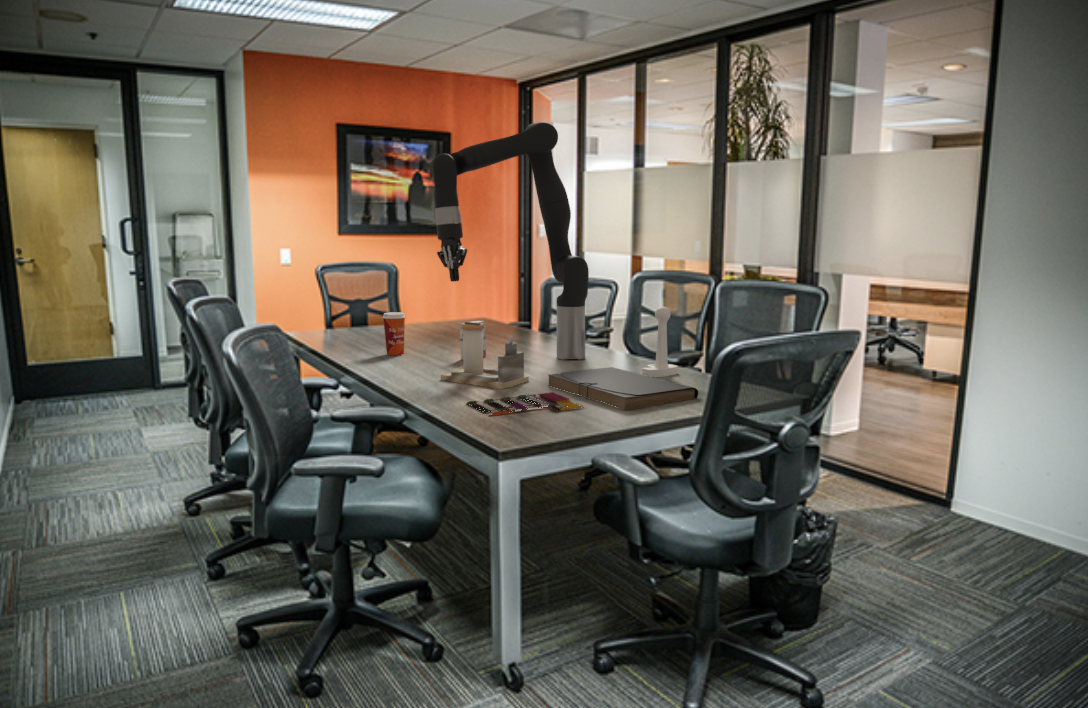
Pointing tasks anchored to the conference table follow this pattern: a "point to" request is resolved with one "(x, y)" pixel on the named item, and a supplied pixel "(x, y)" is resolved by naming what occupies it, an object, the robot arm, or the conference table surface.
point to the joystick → (661, 348)
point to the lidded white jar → (473, 347)
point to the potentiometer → (510, 347)
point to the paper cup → (394, 332)
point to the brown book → (621, 387)
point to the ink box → (483, 338)
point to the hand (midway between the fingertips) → (455, 281)
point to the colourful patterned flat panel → (550, 397)
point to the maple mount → (494, 373)
